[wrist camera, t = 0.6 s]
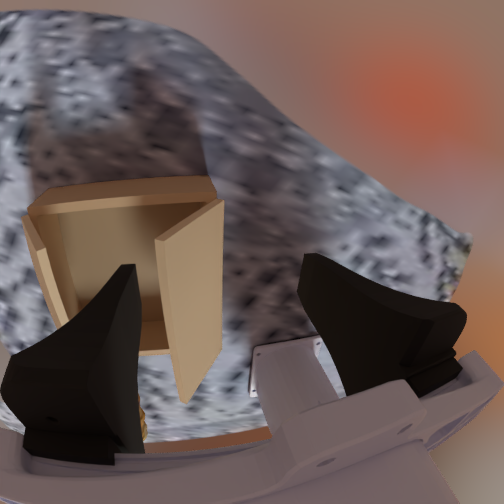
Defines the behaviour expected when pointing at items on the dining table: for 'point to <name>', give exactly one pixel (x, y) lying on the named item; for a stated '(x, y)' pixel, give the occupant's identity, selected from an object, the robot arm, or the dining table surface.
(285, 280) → the dining table surface
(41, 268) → the flap
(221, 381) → the dining table surface
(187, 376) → the flap
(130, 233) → the carton
